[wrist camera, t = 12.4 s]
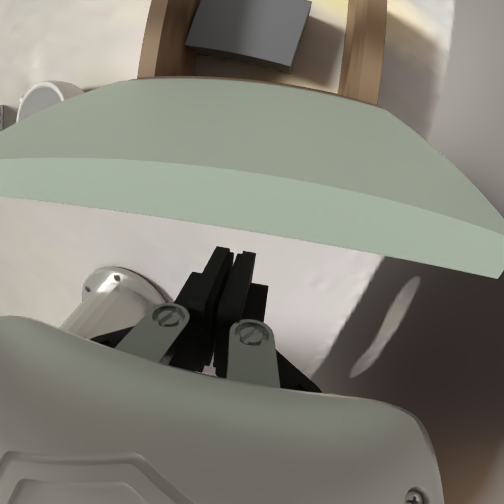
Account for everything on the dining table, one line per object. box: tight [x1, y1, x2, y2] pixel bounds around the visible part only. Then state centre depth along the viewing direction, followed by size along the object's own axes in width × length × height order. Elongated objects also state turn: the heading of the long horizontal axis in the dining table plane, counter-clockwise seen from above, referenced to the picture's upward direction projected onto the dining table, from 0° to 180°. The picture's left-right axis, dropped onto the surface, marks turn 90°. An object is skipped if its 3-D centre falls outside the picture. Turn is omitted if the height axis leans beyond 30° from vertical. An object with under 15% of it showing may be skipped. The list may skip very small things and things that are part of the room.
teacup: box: [16, 81, 84, 123], centre depth 20 cm, size 10×8×5 cm
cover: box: [0, 78, 504, 279], centre depth 9 cm, size 12×14×1 cm
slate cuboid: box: [185, 0, 312, 74], centre depth 17 cm, size 6×8×4 cm
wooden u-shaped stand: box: [137, 0, 387, 106], centre depth 15 cm, size 12×15×8 cm
